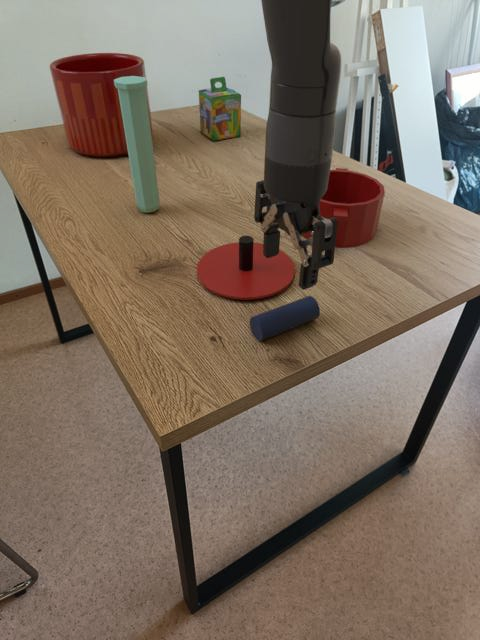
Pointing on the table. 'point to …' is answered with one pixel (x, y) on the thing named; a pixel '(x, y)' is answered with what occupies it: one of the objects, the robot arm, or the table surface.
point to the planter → (94, 100)
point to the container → (139, 140)
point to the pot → (352, 206)
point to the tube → (284, 318)
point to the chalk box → (220, 111)
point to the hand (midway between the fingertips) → (287, 270)
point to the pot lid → (245, 270)
